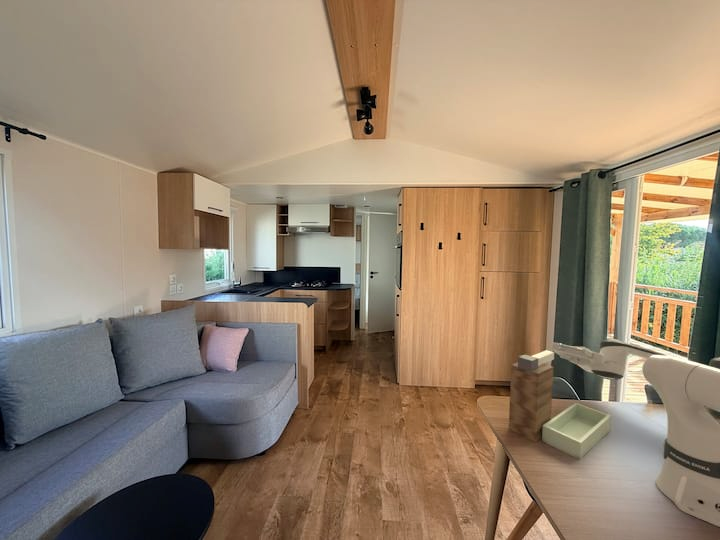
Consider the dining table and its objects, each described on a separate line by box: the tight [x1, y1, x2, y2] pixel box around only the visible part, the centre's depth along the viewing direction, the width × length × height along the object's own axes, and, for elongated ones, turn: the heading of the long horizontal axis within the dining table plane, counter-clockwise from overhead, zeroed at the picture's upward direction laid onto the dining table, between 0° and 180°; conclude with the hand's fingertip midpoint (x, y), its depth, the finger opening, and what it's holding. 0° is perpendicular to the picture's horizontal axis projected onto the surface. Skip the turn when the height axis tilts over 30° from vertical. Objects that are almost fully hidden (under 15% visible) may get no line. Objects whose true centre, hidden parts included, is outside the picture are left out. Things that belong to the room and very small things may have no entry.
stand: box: [508, 362, 554, 443], centre depth 115 cm, size 10×12×26 cm
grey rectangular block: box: [517, 349, 555, 371], centre depth 117 cm, size 5×21×4 cm, turn 124°
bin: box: [541, 402, 612, 461], centre depth 113 cm, size 12×30×6 cm, turn 125°
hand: (571, 348), depth 132 cm, fingers open, 8 cm apart
